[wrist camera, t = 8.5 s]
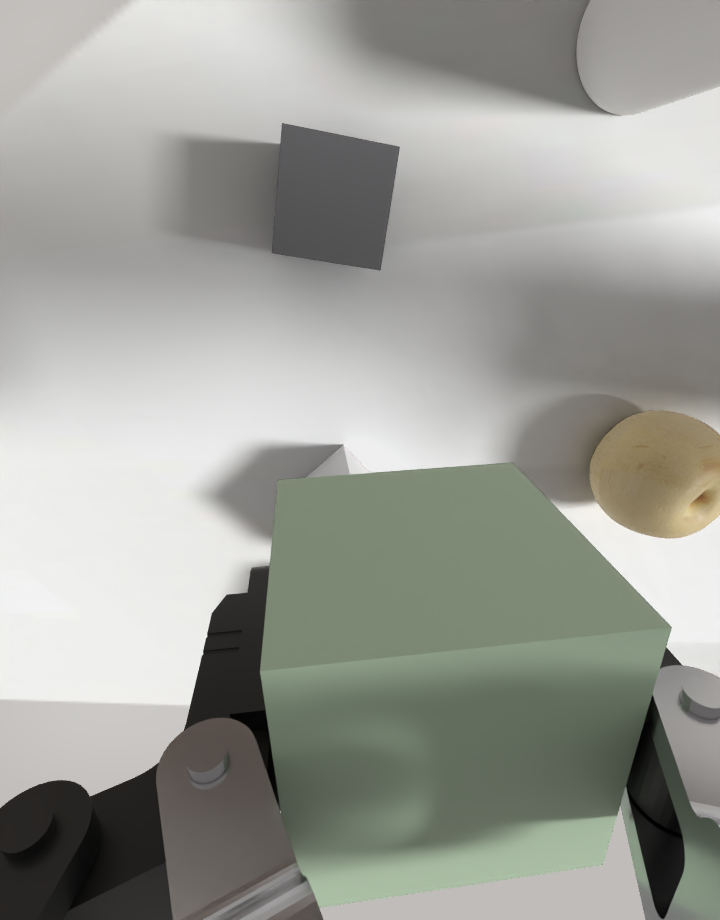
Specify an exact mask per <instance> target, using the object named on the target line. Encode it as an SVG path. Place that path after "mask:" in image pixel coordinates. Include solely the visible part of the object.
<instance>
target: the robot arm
mask: <svg viewBox="0 0 720 920" xmlns="http://www.w3.org/2000/svg"><path fill="white" fill-rule="evenodd" d="M269 568H270V566H266V567H255V568H252V569H251V573H250V580H249V587H248V593H240V594H229V595H226V596H225V598H224V599H223V600H222V601H221V603H220V604H219V605H218V606H217V608H216V609H215V610H214V611H213V613H212V616H211V620H210V624H209V629H208V633H207V635H208V636H207V638H206V641H205V646H204V650H203V655H202V658H201V663H200V667H199V671H198V675H197V680H196V684H195V688H194V692H193V697H192V701H191V705H190V709H189V714H188V718H187V722H186V725H185V729H184V731H183V732H182V733H180V734H179V735H178V736H177V737H176V738H175V739H174V740H173V741H172V742H171V743H170V744H169V746H168V747H167V749H166V750H165V751H164V753H163V755H162V757H161V759H160V762H159V763H158V764H156V765H155V766H154V767H153V768H151V769H149V770H148V771H146V772H145V773H143V774H141V775H139V776H137V777H135V778H133V779H131V780H128V781H126V782H123V783H121V784H119V785H116V786H114V787H112V788H109V789H107V790H105V791H102V792H100V793H98V794H95V795H93V796H89V795H88V793H87V791H86V790H85V789H84V788H83V787H82V786H81V785H79V784H77V783H75V782H71V781H63V780H60V781H59V780H58V781H51V782H47V783H43V784H39V785H37V786H35V787H32V788H30V789H28V790H26V791H24V792H22V793H21V794H19V795H17V796H16V797H14V798H13V799H11V800H10V801H8V802H7V803H6V804H5V805H4V806H2V807H1V808H0V920H323V917H322V914H321V912H320V909H319V906H318V903H317V900H316V898H315V895H314V892H313V890H312V888H311V885H310V883H309V881H308V879H307V877H306V876H305V875H304V876H303V875H302V873H301V871H300V868H299V866H298V863H297V860H296V857H295V854H294V851H293V848H292V846H291V843H290V840H289V837H288V834H287V831H286V828H285V825H284V822H283V819H282V816H281V813H280V803H279V796H278V789H277V783H276V776H275V769H274V762H273V756H272V749H271V742H270V735H269V729H268V722H267V715H266V708H265V702H264V695H263V688H262V681H261V675H260V666H261V655H262V644H263V634H264V623H265V612H266V601H267V590H268V579H269ZM620 806H621V810H622V815H623V819H624V824H625V828H626V833H627V837H628V842H629V846H630V851H631V855H632V860H633V865H634V869H635V874H636V878H637V882H638V887H639V892H640V896H641V901H642V905H643V910H644V914H645V919H646V920H720V678H719V677H717V676H715V675H713V674H711V673H708V672H706V671H704V670H700V669H697V668H694V667H689V666H683V665H682V664H681V663H680V662H679V661H678V660H677V659H676V658H675V657H674V655H673V654H672V653H671V652H670V651H669V650H668V649H667V648H666V649H665V652H664V656H663V659H662V663H661V666H660V669H659V673H658V676H657V680H656V683H655V687H654V690H653V694H652V697H651V701H650V704H649V707H648V711H647V714H646V718H645V721H644V725H643V728H642V732H641V735H640V738H639V742H638V745H637V749H636V752H635V756H634V759H633V763H632V766H631V770H630V773H629V776H628V780H627V783H626V787H625V790H624V794H623V797H622V801H621V804H620Z"/></svg>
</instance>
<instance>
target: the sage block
mask: <svg viewBox="0 0 720 920" xmlns="http://www.w3.org/2000/svg"><path fill="white" fill-rule="evenodd" d="M671 628H672V627H671V626H670V625H669V624H668V623H667V622H666V621H665V620H664V619H663V618H662V617H661V616H660V615H659V613H658V612H657V611H656V610H655V609H654V608H653V607H652V606H651V605H650V604H649V603H648V602H647V601H646V600H645V599H644V598H643V597H642V596H641V595H640V594H639V593H638V592H637V591H636V590H635V589H634V588H633V586H632V585H631V584H630V583H629V582H628V581H627V580H626V579H625V578H624V577H623V576H622V575H621V574H620V573H619V572H618V571H617V570H616V569H615V568H614V567H613V566H612V565H611V564H610V563H609V562H608V561H607V560H606V558H605V557H604V556H603V555H602V554H601V553H600V552H599V551H598V550H597V549H596V548H595V547H594V546H593V545H592V544H591V543H590V542H589V541H588V540H587V539H586V538H585V537H584V536H583V535H582V534H581V533H580V532H579V530H578V529H577V528H576V527H575V526H574V525H573V524H572V523H571V522H570V521H569V520H568V519H567V518H566V517H565V516H564V515H563V514H562V513H561V512H560V511H559V510H558V509H557V508H556V507H555V506H554V505H553V503H552V502H551V501H550V500H549V499H548V498H547V497H546V496H545V495H544V494H543V493H542V492H541V491H540V490H539V489H538V488H537V487H536V486H535V485H534V484H533V483H532V482H531V481H530V480H529V479H528V478H527V477H526V475H525V474H524V473H523V472H522V471H521V470H520V469H519V468H518V467H517V466H516V465H515V464H514V463H499V464H486V465H472V466H459V467H445V468H431V469H418V470H404V471H391V472H377V473H363V474H350V475H336V476H323V477H309V478H295V479H282V480H278V481H277V492H276V503H275V514H274V525H273V536H272V547H271V558H270V568H269V579H268V590H267V601H266V612H265V623H264V634H263V644H262V655H261V666H260V675H261V681H262V688H263V695H264V702H265V708H266V715H267V722H268V729H269V735H270V742H271V749H272V756H273V762H274V769H275V776H276V783H277V789H278V796H279V803H280V810H281V816H282V819H283V822H284V825H285V828H286V831H287V834H288V837H289V840H290V843H291V846H292V848H293V851H294V854H295V857H296V860H297V863H298V866H299V868H300V871H301V873H302V875H303V876H304V875H305V876H306V877H307V879H308V881H309V883H310V885H311V888H312V890H313V892H314V895H315V898H316V900H317V903H318V906H319V908H321V907H327V906H334V905H341V904H347V903H354V902H361V901H367V900H374V899H380V898H387V897H394V896H400V895H407V894H414V893H420V892H426V891H433V890H440V889H447V888H453V887H460V886H467V885H473V884H480V883H487V882H493V881H499V880H507V879H512V878H520V877H526V876H533V875H540V874H546V873H553V872H560V871H566V870H573V869H579V868H586V867H592V866H599V865H603V862H604V859H605V856H606V852H607V849H608V845H609V842H610V838H611V835H612V832H613V828H614V825H615V821H616V818H617V814H618V811H619V807H620V804H621V801H622V797H623V794H624V790H625V787H626V783H627V780H628V776H629V773H630V770H631V766H632V763H633V759H634V756H635V752H636V749H637V745H638V742H639V738H640V735H641V732H642V728H643V725H644V721H645V718H646V714H647V711H648V707H649V704H650V701H651V697H652V694H653V690H654V687H655V683H656V680H657V676H658V673H659V669H660V666H661V663H662V659H663V656H664V652H665V649H666V645H667V642H668V638H669V635H670V631H671Z"/></svg>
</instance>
